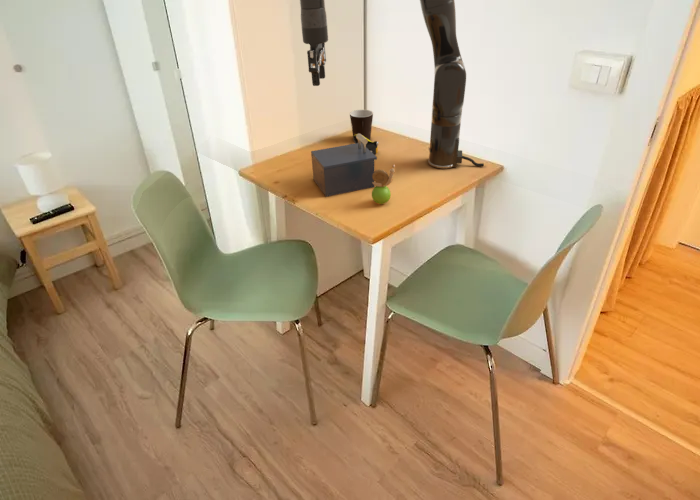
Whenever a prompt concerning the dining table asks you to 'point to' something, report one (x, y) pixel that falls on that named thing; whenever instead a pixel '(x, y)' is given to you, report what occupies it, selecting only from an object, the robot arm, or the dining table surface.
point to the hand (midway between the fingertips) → (319, 81)
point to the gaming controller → (369, 145)
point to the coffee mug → (361, 122)
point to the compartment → (343, 177)
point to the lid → (344, 154)
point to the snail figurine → (382, 186)
